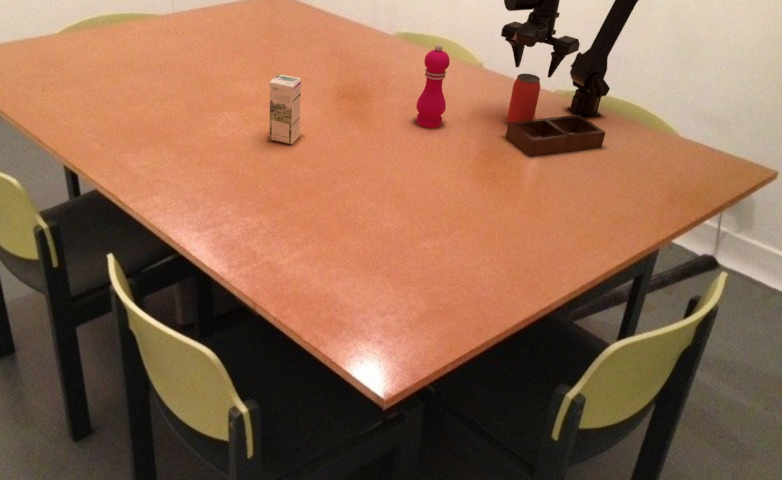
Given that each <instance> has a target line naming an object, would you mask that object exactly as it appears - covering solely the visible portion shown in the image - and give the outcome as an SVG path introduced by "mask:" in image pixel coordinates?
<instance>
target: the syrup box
mask: <svg viewBox="0 0 782 480" xmlns="http://www.w3.org/2000/svg"><path fill="white" fill-rule="evenodd" d="M301 101H302V78H301V77H296V76H290V75H286V74H280V73H279V74H277V75H275V76H274V77H273V78H271V80H270V81H269V141H272V142H277V143H281V144H282V143H283V144H288V145H292V144H293V143H295V142H296V141H297V140H298V138H300V136H301Z"/></svg>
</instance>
